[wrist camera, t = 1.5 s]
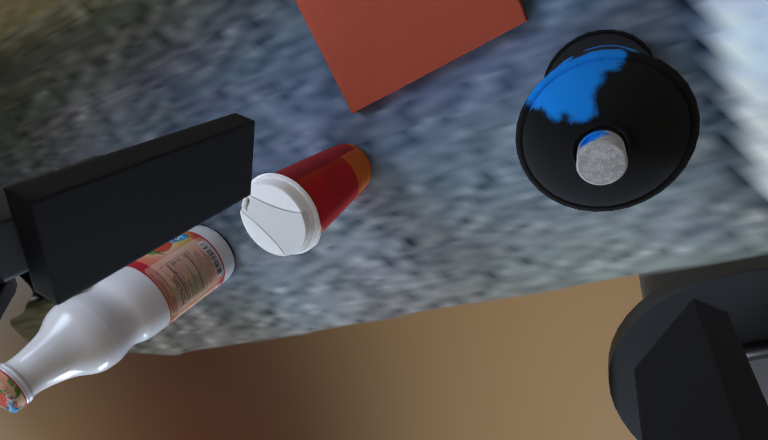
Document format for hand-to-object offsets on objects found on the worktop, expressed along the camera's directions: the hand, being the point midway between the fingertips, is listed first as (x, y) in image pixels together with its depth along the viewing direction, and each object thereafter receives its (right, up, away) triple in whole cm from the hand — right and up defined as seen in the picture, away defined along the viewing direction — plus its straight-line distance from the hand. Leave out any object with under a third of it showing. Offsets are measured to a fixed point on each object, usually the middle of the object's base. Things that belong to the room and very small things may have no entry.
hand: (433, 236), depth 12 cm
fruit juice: (-27, -4, +51) cm, 58 cm away
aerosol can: (+16, +11, +22) cm, 29 cm away
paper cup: (-5, +6, +35) cm, 36 cm away
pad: (0, +20, +25) cm, 32 cm away
